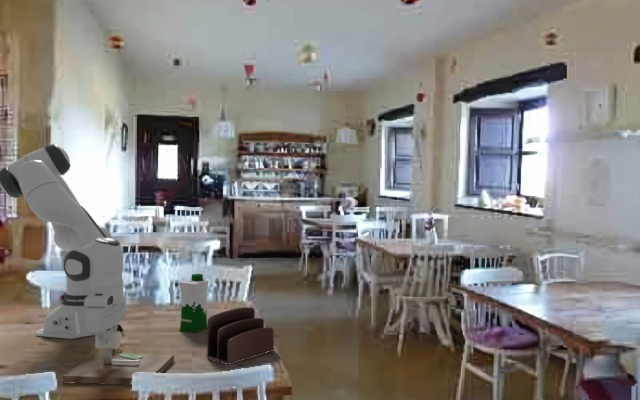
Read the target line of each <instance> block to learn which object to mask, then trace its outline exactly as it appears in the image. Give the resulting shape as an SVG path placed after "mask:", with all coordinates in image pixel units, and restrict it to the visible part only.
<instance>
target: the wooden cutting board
mask: <svg viewBox="0 0 640 400" xmlns="http://www.w3.org/2000/svg"><path fill="white" fill-rule="evenodd" d="M174 355H175V354H163V353H135V352H134V353H131V352H120V353H115V352H112V359H115V360H139V363H114V362H112V364H103V352H99V351H98V352H97V351H96V353H94V354H93V355H91V356H89V357H88V358H86V359H85V360H84V361H82V362H81V363H79V364H77V365H76V366H74V368H72V369H70V370H69V371H67V372H66V373H65V374H63V375H62V383H63V382H75V383H74V384H76V383H105V384H104V385H107V384H130V383H131V380H132V374H133V373H135V372H156V373H158V372H163V371H164V370H165V369H166V368H167V367H168V368H169V367H170V366H171V365H172V364H173V362H175V356H174ZM168 368H167V369H168ZM167 369H166V370H167ZM166 370H165V371H166ZM165 371H164V372H165ZM164 372H163V373H164Z"/></svg>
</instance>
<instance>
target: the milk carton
mask: <svg viewBox="0 0 640 400" xmlns="http://www.w3.org/2000/svg"><path fill="white" fill-rule="evenodd" d="M178 286H179V289H180V290H179V291H180V324H179V325H180V326H179V327H180V328H179V331H180V332H186V333H190V332H191V333H190V334H197V333H200V332H202V330H203V331H205V330H204V329H206V330H207V322H208V317H207V315H208V314H207V313H208V312H207V311H208V308H207V306H208V303H207V302H208V301H207V298H208V297H207V296H208V295H207V294H208V286H209V280H206V279H204V275H203V274H202V273H194V274H193V273H192V274H191V279H184V280H181V281H178ZM199 331H200V332H199ZM196 332H197V333H196Z"/></svg>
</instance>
